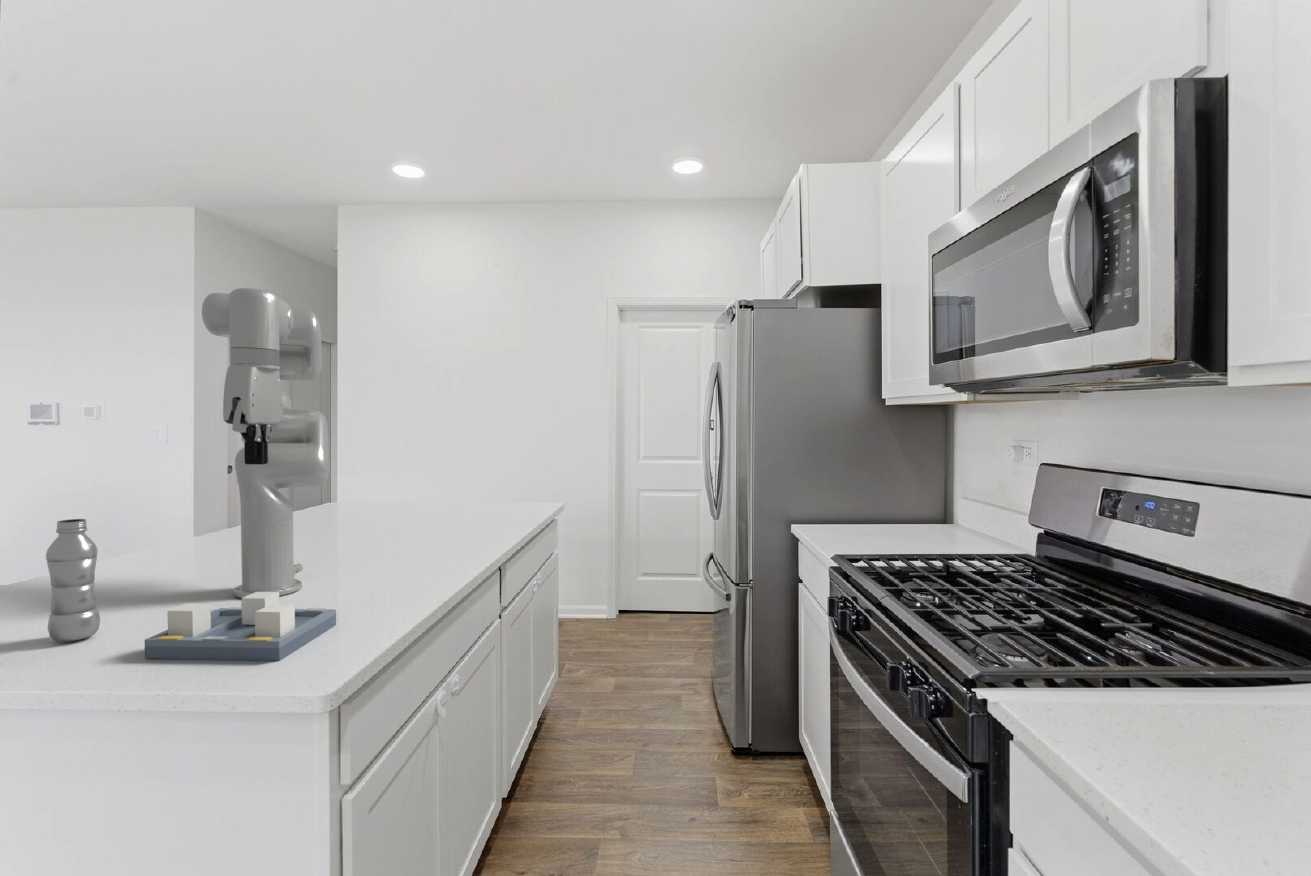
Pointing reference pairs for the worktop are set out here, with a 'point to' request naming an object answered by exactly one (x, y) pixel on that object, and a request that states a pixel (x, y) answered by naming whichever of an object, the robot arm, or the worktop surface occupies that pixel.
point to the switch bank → (240, 638)
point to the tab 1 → (189, 620)
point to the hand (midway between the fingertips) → (256, 463)
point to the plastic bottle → (72, 583)
